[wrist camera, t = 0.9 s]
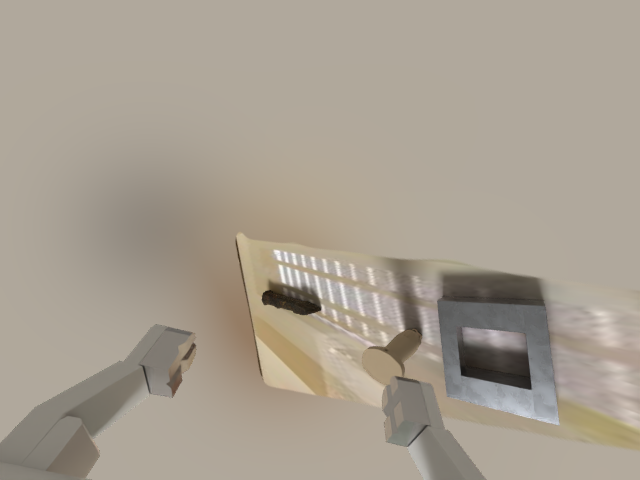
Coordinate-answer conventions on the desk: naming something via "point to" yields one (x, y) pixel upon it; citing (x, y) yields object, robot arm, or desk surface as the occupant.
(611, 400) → the desk surface
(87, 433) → the robot arm
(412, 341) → the handle
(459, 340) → the jig
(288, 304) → the hand tool
